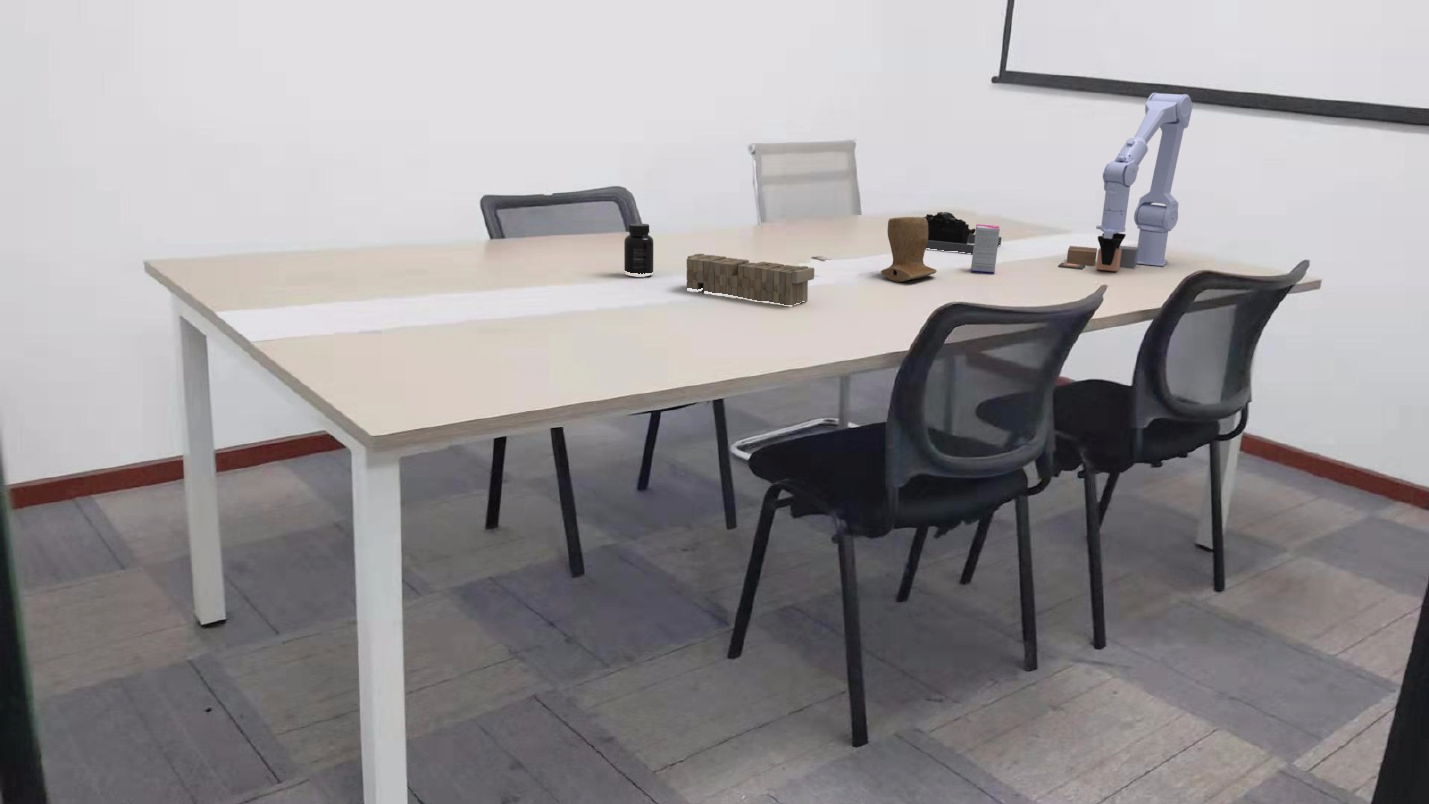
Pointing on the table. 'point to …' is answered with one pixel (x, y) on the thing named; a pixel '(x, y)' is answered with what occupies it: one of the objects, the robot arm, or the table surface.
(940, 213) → the film camera
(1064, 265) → the card
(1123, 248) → the charcoal cube
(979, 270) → the supplement box
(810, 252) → the table surface
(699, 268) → the block tower
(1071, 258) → the walnut block
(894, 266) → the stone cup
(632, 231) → the supplement bottle
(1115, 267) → the terracotta cube
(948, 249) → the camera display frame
